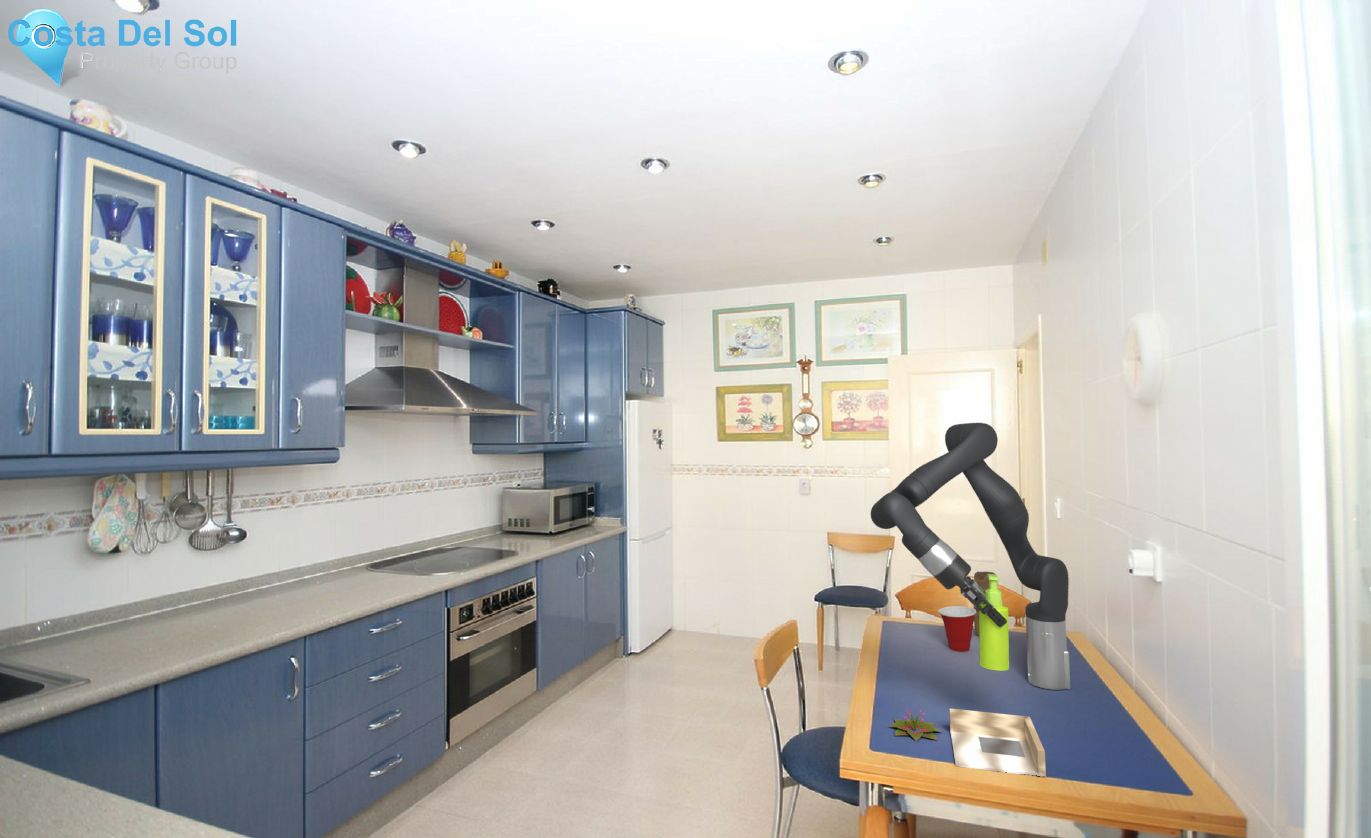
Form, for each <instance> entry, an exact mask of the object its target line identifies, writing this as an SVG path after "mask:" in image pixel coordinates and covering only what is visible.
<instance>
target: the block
mask: <svg viewBox="0 0 1371 838" xmlns="http://www.w3.org/2000/svg"><path fill="white" fill-rule="evenodd" d="M987 574H996V573H995V572H993V571H976V572H974V574H973V579H974V580H975V581H976V582H977V584H978V585H979V586H980V587H981V588H982V589H983V590H984V591H985V590H987V589H989V578H988V577H987ZM973 609H975V610H976V613H975V617H974V622H973V627H974V632H975V633H974V634H975V635H977V636H979V609H978V608H977V607H975V606H974V605H973Z"/></svg>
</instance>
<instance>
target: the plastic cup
mask: <svg viewBox="0 0 1371 838" xmlns="http://www.w3.org/2000/svg"><path fill="white" fill-rule="evenodd" d="M938 613H939V614H940V616H941V619H942V622H943V626H944V631H945V635H946V638H947V643H948V647H949V649H950V650H951V651H954V652H963V653H964V652H968V651H970V648H971V643H972V638H973V637H972V636H973V628H974V617H975V613H976V610H975V609H974V607H970V606H962V605H956V606H955V605H951V606H945V607H941V608H940V609H938Z"/></svg>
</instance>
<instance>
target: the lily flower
mask: <svg viewBox="0 0 1371 838" xmlns="http://www.w3.org/2000/svg"><path fill="white" fill-rule="evenodd" d="M906 710H907V711H906V713H907V714H909V715H907V716H906V715H904V716H903V718H904V719H896V718H894V719H893V720H894V723H892V724H891V725H890V726H888V728H897V729H896V730H895V732H894V736H911V737H912V738H913V739H914V741H915V742H917V741H918V740H919V739H920V738H928V739H931V740H935V741H938V738H937V736H936V735H935V733H934V732H939V733H942V731H941V730H940V729H938V728H937V727H936V726H935V724H936V723H935V722H928V721H924V718H922V716H924V715H925V714H926V713H925V712H923V713H921V712H922V709H920V710H919V712H918V713H917V715H916V718H914V717H913V715H912V713H911V712H910V711H909V709H908V708H906ZM920 713H921V715H920ZM907 717H908V718H907ZM921 718H922V719H921ZM905 719H906V720H905ZM920 719H921V720H920ZM908 729H909V730H908ZM919 729H921V730H919ZM912 730H913V731H912ZM917 730H919V731H917ZM914 731H916V732H915V733H914ZM924 732H925V733H924ZM906 733H907V734H906Z"/></svg>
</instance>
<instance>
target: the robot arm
mask: <svg viewBox="0 0 1371 838" xmlns="http://www.w3.org/2000/svg"><path fill="white" fill-rule="evenodd" d="M944 442H945V443H944V444H945V447H946V449H947V452H946V453H944V454H942V455H941V456H938V457H936V458H934V459H931V460H929V461H928V462H925V463H924V464H922V465H921V466H919V467H918V468H916V469H915V470H913V471H912V472H911V473H910V474H908V475H906V477H905V478H904V479H902V480H901V482H900V483H898V485H897V486H896V487H895V488H894V489H892V490H891V491H889V492H888V493H886V494H885V495H883V496H882V497H881V498H880V499H879V500H877V501H876V502H875V503H874V504H873V506H872V507H871V509H870V518H871V521H872V523H873V524H874V525H875V526H876V527H877V528H879V529H882V530H890V529H893V528H895V527H896V528H897V529H898V530H899V532H900V533H901V534H902V537H901V542H902V544H903V546H904V547H905V548H906V550H908V551H909V552H910V553H911V555H912V556H913V557H915V558H916V559H917V560H918V561H919V563H920V564H921V565H922V567H923V568H925V570H927V572H929V574H930V575H931V576H932V577H933V578H934V579H935V580H936V581H938V583H940V584H941V585H942V586H943V587H944V588H945V589H946V590H952V589H954V588H955V587H956V586H957V587H958V588H959V591H960V594H961V595H962V596H963V597H964V598H965V599H967V600H968V601H969V602H970V603H971V604H972V605H973V607H974V606H975V607H977V608H978V609H979V610H980V611H981V613H982V614H984V615H987V616H988V617H989V618H990V619H992V620H993V621H994V622H995V623H996V624H997V625H998V626H999V627H1002V626H1003V625H1005V624H1006V623H1007V620H1006V619H1005V618H1004V617H1003V616H1002V615H1001V614H1000V613H999V612H998V611H997V610H996V609H995V608H994V606H993V605H992V604H991V603H990V602H989V601H988V597H987V596H986V595H985V591H984V590H983V589H982V588H981V587H980V586H979V585H978V584H977V582H976V581H975V580H974V578H971V577H970V576H969V574H970V572H972V571H971V570H972V566H971V565H970V564H969V563H968V562H966V560H965V559H964V558H963V557H961V555H960V554H959V553H957V551H955V550H954V549H953V548H952V547H951V546H950V545H949V544H948V543H947V542H945V541H944V540H942V539H941V538H940V537H939V536H938V535H937V534H936V533H935V532H934V531H933V529H931V528H930V527H928V526H927V524H926V523H925V521H924V519H923V518H922V516H921V515H920V513H919V511H917V507H919V506H920V505H922V504H923V503H925V502H926V501H928V500H929V498H931V497H932V496H933V495H934V494H935V493H936V492H938V490H940V489H941V488H942V487H944V486H945V485H946V484H948V483H949V482H950V481H951V480H953V479H954V478H956V477H958V476H959V475H960V474H963V475H964V477H965V479H966V480H967V481H968V483H969V484H970V486H971V488H972V490H973V492H974V493H975V495H976V497H977V498H978V501H979V502H980V504H981V506H982V508H983V510H984V512H985V513H986V515H987V518H988V519H989V521H990V522H991V525H992V526H993V527H994V529H995V531H996V533H997V534H998V536H999V539H1000V540H1001V543H1002V544H1003V546H1004V548H1005V550H1006V552H1007V553H1006V554H1007V555H1008V558H1009V560H1010V562H1011V565H1012V568H1013V570H1014V572H1015V574H1016V576H1017V577H1016V578H1017V579H1018V580H1019V582H1020V583H1021V584H1022V585H1023V586H1025V587H1026V588H1028V589H1031V590H1035V591H1039V592H1040V593H1039V600H1038V601H1036V602H1035V601H1034V602H1030V603H1028V604H1026V606H1025V631H1026V632H1025V634H1026V657H1027V658H1026V659H1027V662H1026V663H1027V680H1028V681H1027V682H1028V683H1029V684H1030V685H1032V686H1035V687H1037V688H1041V689H1046V690H1052V691H1053V690H1054V691H1057V690H1071V675H1070V674H1071V673H1070V672H1071V671H1070V668H1071V667H1070V652H1069V650H1068V649H1067V646H1068V645H1067V627H1066V626H1067V625H1066V624H1067V621H1066V620H1067V619H1066V617H1067V611H1068V607H1069V585H1070V583H1069V581H1070V580H1069V579H1070V578H1069V571H1068V568H1067V565H1066V564H1065V562H1064V561H1063V560H1061V559H1059V558H1056V557H1050V556H1045V555H1040V554H1038V553H1037V552H1036V551H1035V550H1034V548H1033V547H1032V545H1031V543H1030V541H1029V539H1028V528H1029V524H1030V523H1029V521H1030V516H1029V511H1028V509H1027V507H1026V505H1025V503H1024V502H1023V499H1022V498H1021V496H1020V494H1019V493H1018V491H1017V490H1016V489H1015V487H1014V486H1013V485H1012V484H1010V483H1009V482H1008V481H1006V479H1005V478H1003V477H1002V476H1000V474H998V473H997V472H996V471H994V470H993V469H992V468H991V467H990V466H989V465H988V464H987V462H986V461H985V460H986V459H987V458H989V457H990V456H991V455H993V454H994V452H995V451H996V449H997V447H998V434H997V432H996V429H994V427H993V426H991V425H990V424H988V423H984V422H967V423H958V424H953V425H951V426H949V427H948V429H947V430H946V431H945V436H944ZM985 603H986V604H987V605H986V606H985V607H984V608H982V607H981V604H985Z"/></svg>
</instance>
